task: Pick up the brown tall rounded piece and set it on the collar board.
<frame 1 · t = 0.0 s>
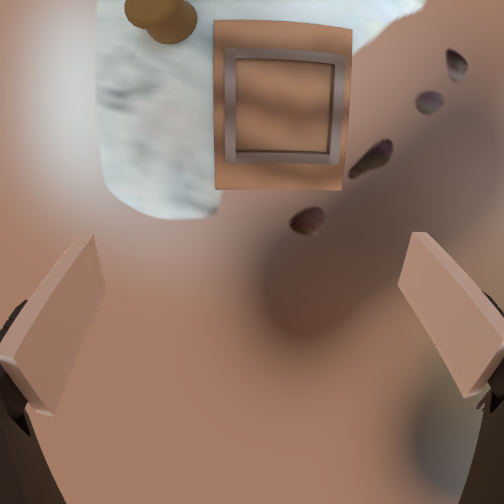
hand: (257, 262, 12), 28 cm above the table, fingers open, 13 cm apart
brown tall rounded piece: (172, 21, 29), on the table
collar board: (282, 104, 35), on the table
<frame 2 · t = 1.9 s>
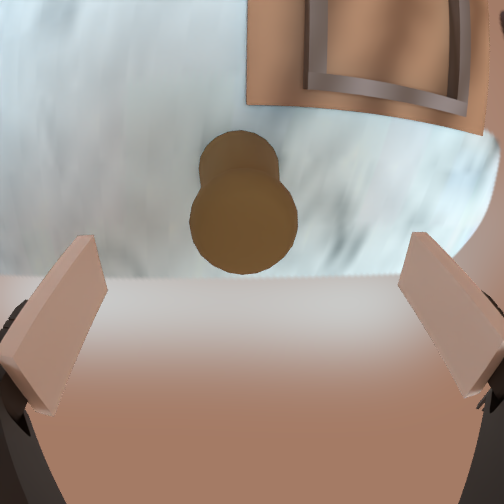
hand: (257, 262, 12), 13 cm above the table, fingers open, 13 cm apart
brown tall rounded piece: (238, 168, 24), on the table
collar board: (386, 19, 17), on the table
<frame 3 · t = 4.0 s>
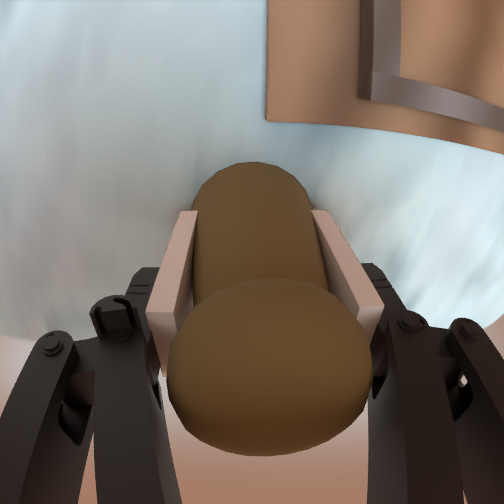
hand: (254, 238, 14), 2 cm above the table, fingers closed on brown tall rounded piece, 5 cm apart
brown tall rounded piece: (252, 219, 16), on the table, touching gripper
collar board: (464, 7, 10), on the table
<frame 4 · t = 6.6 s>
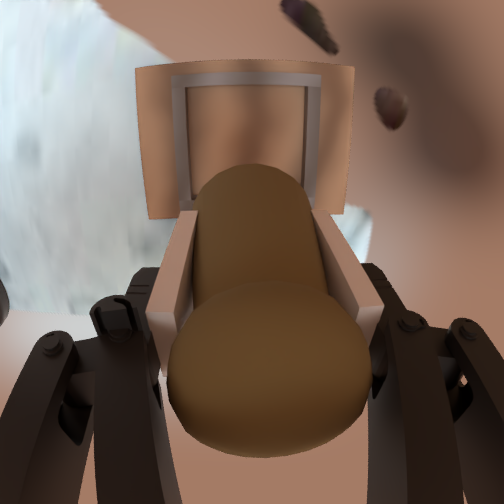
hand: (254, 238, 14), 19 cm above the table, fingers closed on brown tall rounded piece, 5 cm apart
brown tall rounded piece: (251, 221, 16), point 17 cm above the table, touching gripper
collar board: (246, 138, 30), on the table
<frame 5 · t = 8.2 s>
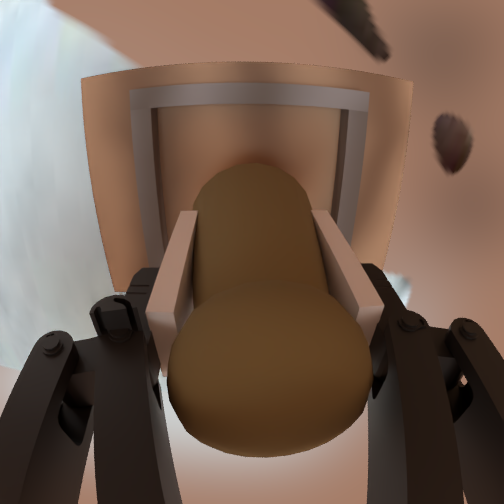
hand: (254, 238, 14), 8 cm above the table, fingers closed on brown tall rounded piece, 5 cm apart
brown tall rounded piece: (252, 221, 16), point 6 cm above the table, touching gripper
collar board: (248, 184, 21), on the table
when the fingers open (4 cm above the table, at t = 9.5 s): brown tall rounded piece drops 1 cm, resting on collar board.
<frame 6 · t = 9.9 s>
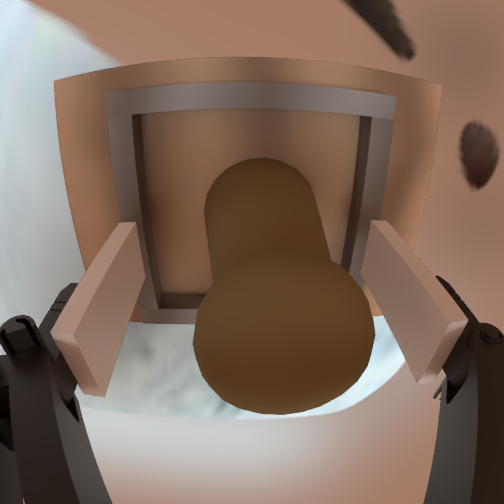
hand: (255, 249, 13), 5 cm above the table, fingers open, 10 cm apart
brown tall rounded piece: (260, 211, 17), point 1 cm above the table, touching collar board
collar board: (250, 203, 18), on the table
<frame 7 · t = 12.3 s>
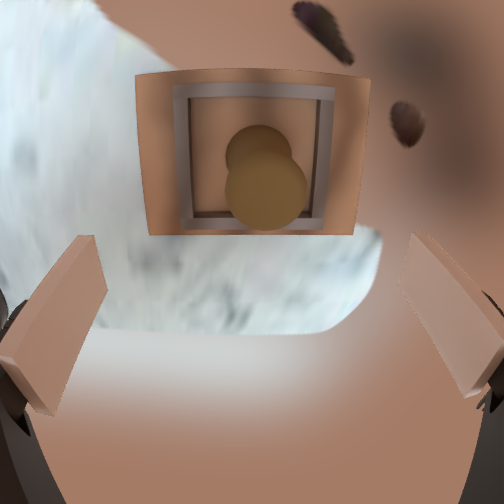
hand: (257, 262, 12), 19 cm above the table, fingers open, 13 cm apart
brown tall rounded piece: (258, 156, 28), point 1 cm above the table, touching collar board
collar board: (252, 153, 29), on the table
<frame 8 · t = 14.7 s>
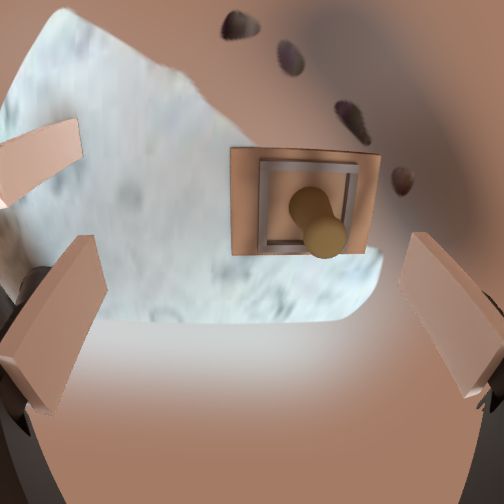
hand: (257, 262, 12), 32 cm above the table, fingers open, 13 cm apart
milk: (64, 140, 38), on the table
brown tall rounded piece: (309, 206, 45), point 1 cm above the table, touching collar board
collar board: (304, 203, 45), on the table
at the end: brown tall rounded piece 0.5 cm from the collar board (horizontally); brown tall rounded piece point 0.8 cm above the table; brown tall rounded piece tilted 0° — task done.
